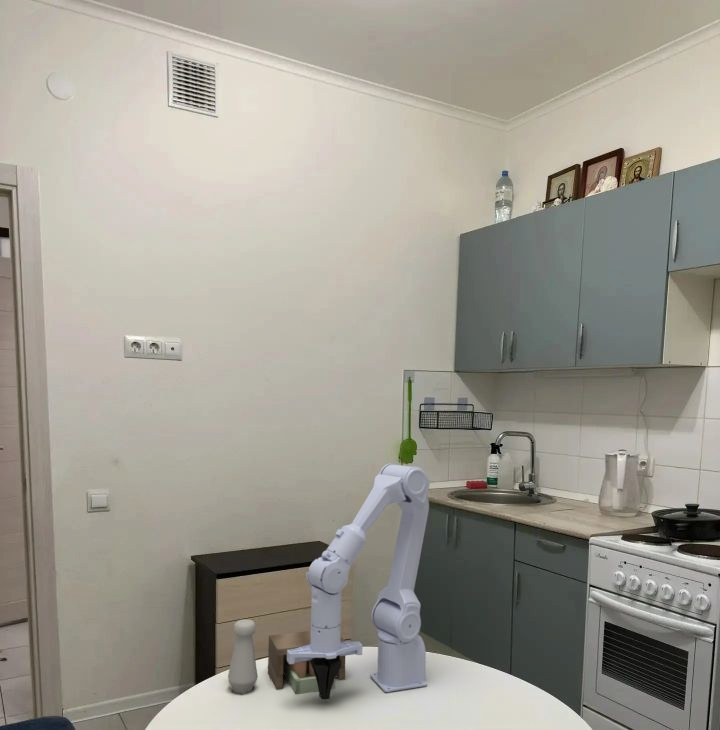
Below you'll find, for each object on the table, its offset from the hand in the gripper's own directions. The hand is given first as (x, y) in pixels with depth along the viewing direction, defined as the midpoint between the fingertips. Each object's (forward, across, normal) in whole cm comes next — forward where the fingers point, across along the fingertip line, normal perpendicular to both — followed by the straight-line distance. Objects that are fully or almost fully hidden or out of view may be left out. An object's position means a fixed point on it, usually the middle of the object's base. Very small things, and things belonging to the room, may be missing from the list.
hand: (324, 697), depth 114 cm
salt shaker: (+1, -14, +11) cm, 17 cm away
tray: (+1, 0, +10) cm, 10 cm away
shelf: (+1, 0, +12) cm, 12 cm away
